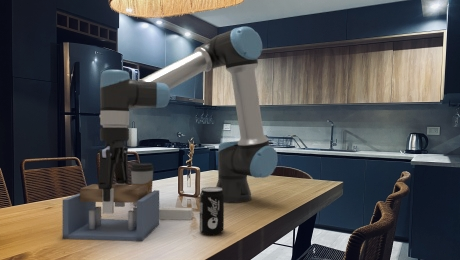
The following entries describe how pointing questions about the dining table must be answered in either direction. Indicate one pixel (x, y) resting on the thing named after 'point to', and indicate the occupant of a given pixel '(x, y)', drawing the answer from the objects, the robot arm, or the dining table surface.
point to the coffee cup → (142, 175)
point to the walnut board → (120, 193)
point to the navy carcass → (109, 220)
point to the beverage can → (211, 211)
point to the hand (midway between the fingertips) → (114, 209)
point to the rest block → (175, 213)
